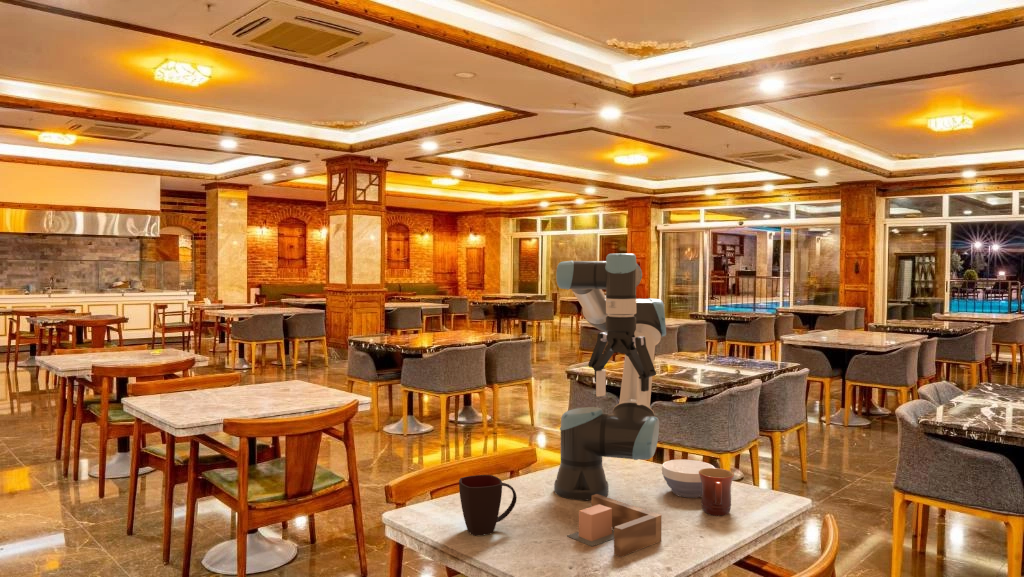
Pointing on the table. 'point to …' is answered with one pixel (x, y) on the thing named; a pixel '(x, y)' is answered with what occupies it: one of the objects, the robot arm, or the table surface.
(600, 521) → the block
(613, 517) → the corner walls
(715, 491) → the mug
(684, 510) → the table surface
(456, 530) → the table surface
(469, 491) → the mug
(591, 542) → the pad
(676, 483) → the bowl
